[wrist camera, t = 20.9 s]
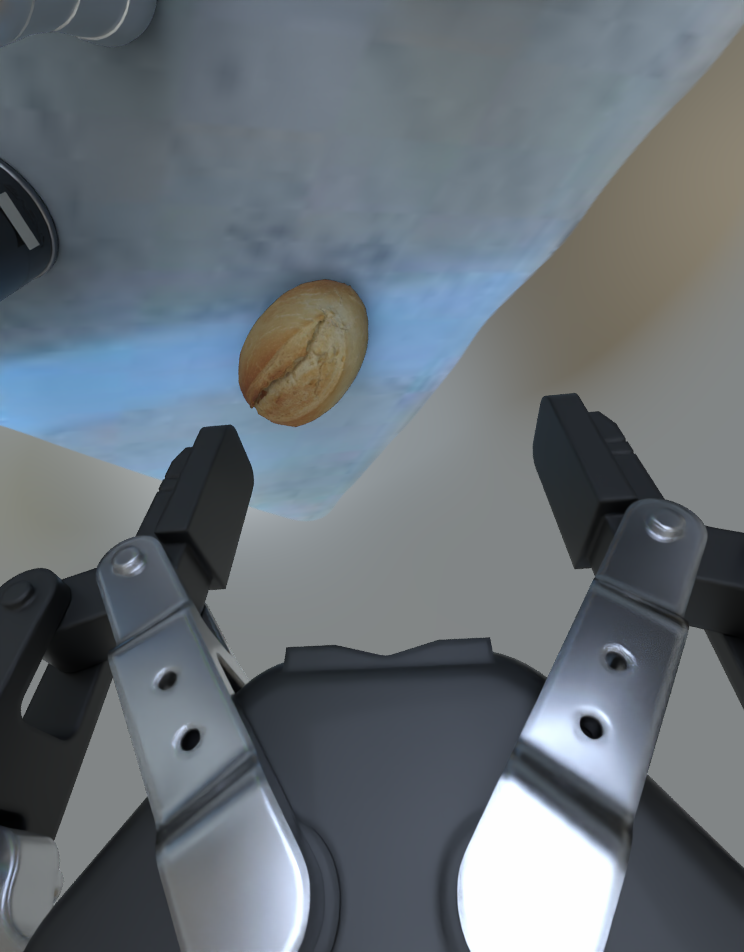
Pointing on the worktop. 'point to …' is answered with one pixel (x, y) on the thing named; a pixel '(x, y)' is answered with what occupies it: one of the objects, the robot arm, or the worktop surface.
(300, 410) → the bread roll
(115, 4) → the plastic bottle
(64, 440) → the worktop surface
